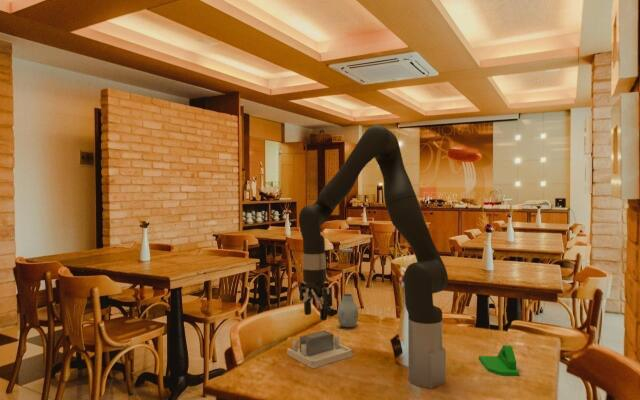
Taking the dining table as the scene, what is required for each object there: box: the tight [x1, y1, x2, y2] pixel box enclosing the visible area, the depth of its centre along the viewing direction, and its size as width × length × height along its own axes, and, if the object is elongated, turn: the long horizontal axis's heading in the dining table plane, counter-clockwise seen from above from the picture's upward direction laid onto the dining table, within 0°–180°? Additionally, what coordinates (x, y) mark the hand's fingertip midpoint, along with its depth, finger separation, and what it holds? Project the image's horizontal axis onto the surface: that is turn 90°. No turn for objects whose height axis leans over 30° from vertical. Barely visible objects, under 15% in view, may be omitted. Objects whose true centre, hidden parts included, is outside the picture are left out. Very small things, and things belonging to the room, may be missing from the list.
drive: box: [299, 330, 335, 357], centre depth 146 cm, size 5×10×5 cm, turn 127°
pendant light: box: [336, 248, 359, 328], centre depth 173 cm, size 8×8×30 cm
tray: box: [286, 331, 354, 369], centre depth 144 cm, size 14×16×5 cm
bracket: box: [478, 344, 520, 377], centre depth 133 cm, size 12×8×7 cm, turn 177°
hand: (315, 317), depth 145 cm, fingers open, 8 cm apart
